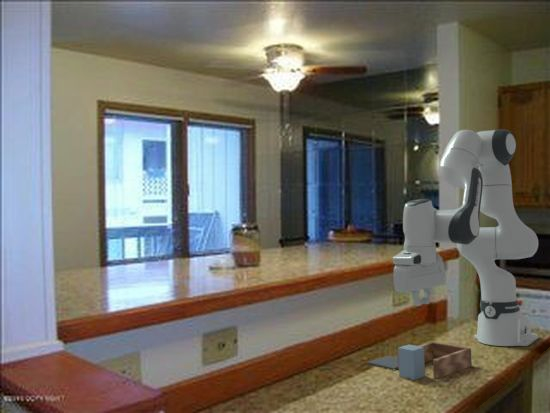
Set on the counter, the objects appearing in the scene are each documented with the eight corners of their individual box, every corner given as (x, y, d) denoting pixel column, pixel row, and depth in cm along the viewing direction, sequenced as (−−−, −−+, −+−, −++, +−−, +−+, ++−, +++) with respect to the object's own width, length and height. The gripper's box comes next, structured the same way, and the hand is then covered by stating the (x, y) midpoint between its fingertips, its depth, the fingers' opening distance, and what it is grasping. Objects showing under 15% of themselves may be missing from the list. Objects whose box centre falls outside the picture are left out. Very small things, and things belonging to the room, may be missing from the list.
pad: (388, 357, 177) (388, 355, 177) (414, 363, 170) (414, 361, 170) (367, 363, 171) (367, 361, 171) (393, 370, 163) (393, 368, 163)
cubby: (432, 357, 175) (432, 341, 175) (471, 365, 165) (471, 348, 165) (398, 369, 164) (397, 352, 164) (437, 378, 154) (436, 360, 154)
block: (410, 372, 161) (409, 344, 161) (425, 376, 157) (423, 347, 157) (399, 376, 158) (398, 347, 158) (414, 380, 154) (412, 350, 154)
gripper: (432, 252, 170) (433, 298, 170) (388, 258, 157) (390, 308, 157) (450, 253, 166) (452, 300, 166) (407, 259, 152) (409, 310, 152)
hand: (422, 304), depth 161 cm, fingers open, 2 cm apart
